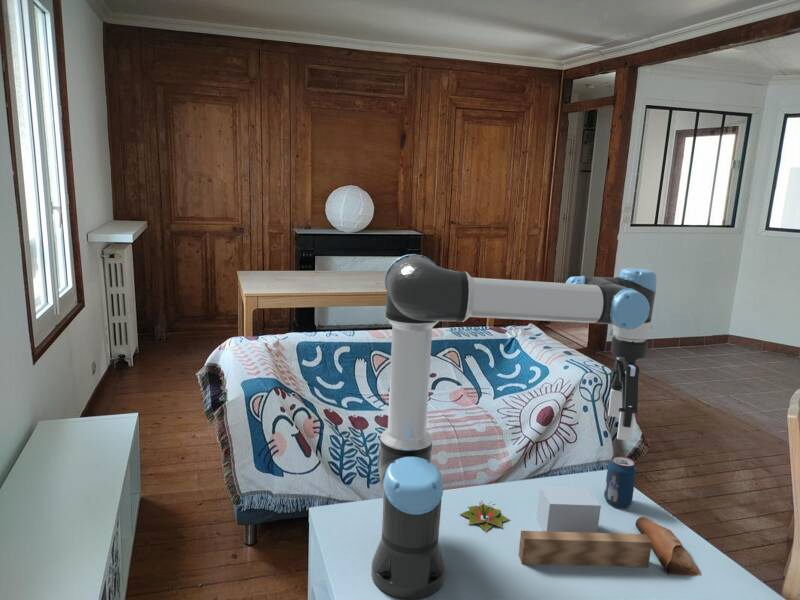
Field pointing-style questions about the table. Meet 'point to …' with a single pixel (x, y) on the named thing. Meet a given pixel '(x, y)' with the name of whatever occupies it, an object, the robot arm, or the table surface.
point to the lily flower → (484, 516)
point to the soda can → (620, 482)
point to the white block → (568, 510)
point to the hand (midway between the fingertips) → (618, 427)
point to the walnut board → (584, 548)
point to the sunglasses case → (667, 548)
